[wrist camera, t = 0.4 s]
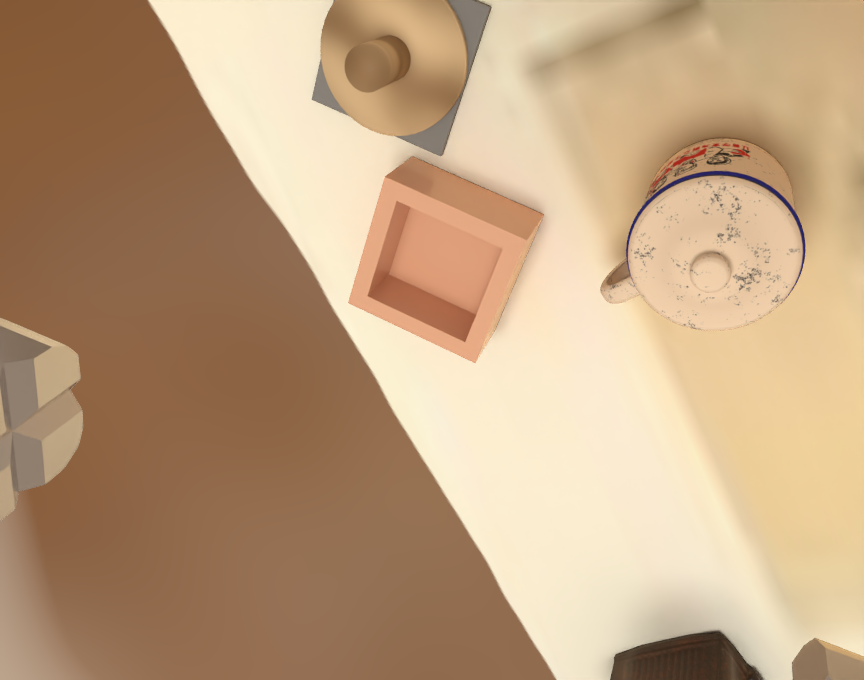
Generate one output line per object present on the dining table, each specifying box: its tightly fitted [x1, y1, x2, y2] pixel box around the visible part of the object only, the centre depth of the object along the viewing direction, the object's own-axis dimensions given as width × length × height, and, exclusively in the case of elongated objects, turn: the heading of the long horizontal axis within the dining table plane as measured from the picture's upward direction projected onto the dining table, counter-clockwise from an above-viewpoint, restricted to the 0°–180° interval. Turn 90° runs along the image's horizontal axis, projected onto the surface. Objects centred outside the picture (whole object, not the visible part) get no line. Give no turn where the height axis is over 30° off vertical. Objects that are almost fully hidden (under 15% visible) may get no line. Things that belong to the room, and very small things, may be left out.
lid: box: [321, 0, 468, 136], centre depth 50 cm, size 10×10×5 cm
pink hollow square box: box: [348, 157, 544, 363], centre depth 55 cm, size 10×10×5 cm
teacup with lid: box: [600, 138, 805, 331], centre depth 46 cm, size 12×9×12 cm
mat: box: [312, 0, 491, 156], centre depth 52 cm, size 10×10×1 cm
